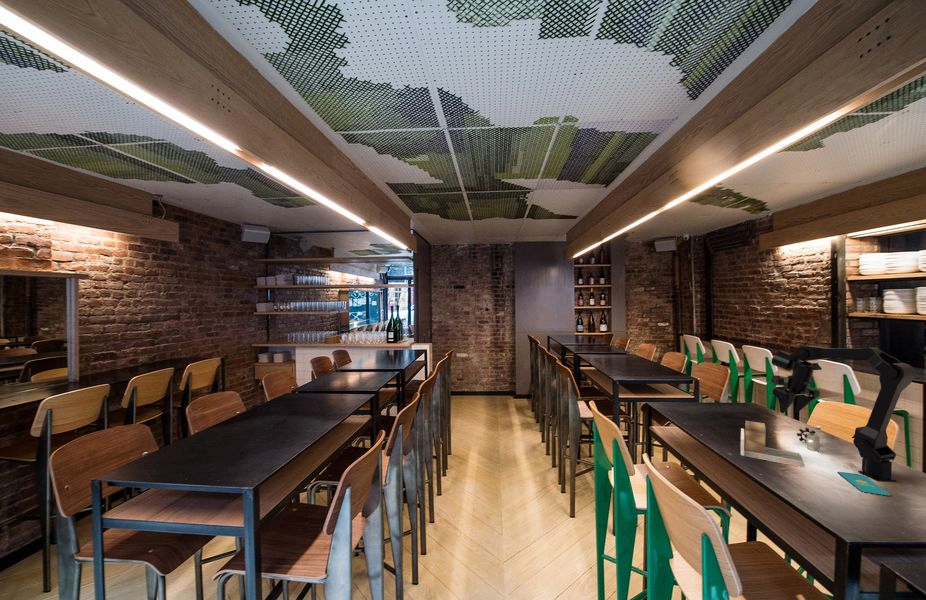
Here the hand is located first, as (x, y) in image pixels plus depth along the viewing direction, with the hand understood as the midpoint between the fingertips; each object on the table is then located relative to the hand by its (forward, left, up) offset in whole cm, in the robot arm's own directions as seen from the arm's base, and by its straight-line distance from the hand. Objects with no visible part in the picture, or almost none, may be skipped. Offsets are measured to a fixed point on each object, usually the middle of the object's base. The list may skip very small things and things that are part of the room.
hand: (789, 411), depth 158 cm
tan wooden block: (-6, +19, -14) cm, 24 cm away
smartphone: (-31, +2, -15) cm, 34 cm away
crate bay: (-9, +15, -14) cm, 22 cm away
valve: (-1, -8, -15) cm, 17 cm away
